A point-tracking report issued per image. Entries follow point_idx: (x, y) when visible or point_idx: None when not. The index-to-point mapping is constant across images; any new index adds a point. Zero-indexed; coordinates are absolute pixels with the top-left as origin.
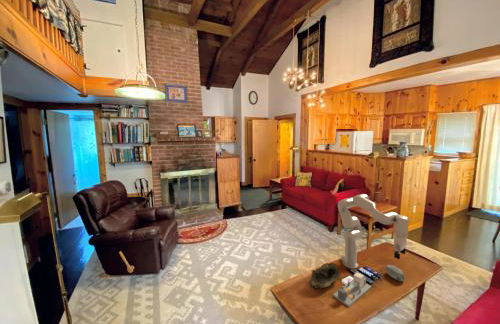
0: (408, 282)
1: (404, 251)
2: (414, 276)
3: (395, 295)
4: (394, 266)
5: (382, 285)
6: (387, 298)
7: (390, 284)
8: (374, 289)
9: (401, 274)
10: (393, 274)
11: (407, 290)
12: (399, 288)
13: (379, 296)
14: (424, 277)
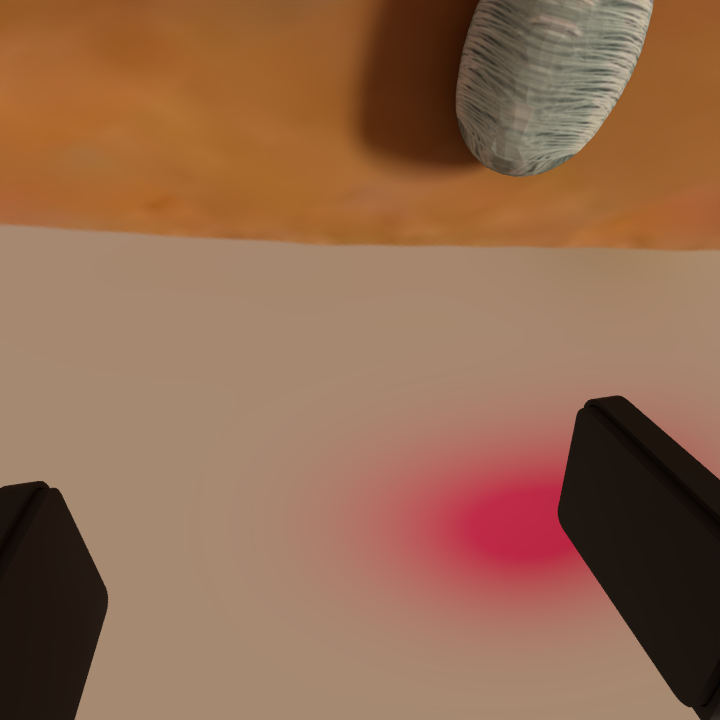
0: (526, 194)
1: (621, 610)
2: (670, 186)
3: (209, 214)
4: (628, 17)
5: (236, 37)
6: (81, 189)
7: (340, 92)
8: (61, 7)
9: (512, 161)
10: (476, 69)
11: (389, 244)
12: (355, 186)
13: (14, 119)
14: (707, 245)
